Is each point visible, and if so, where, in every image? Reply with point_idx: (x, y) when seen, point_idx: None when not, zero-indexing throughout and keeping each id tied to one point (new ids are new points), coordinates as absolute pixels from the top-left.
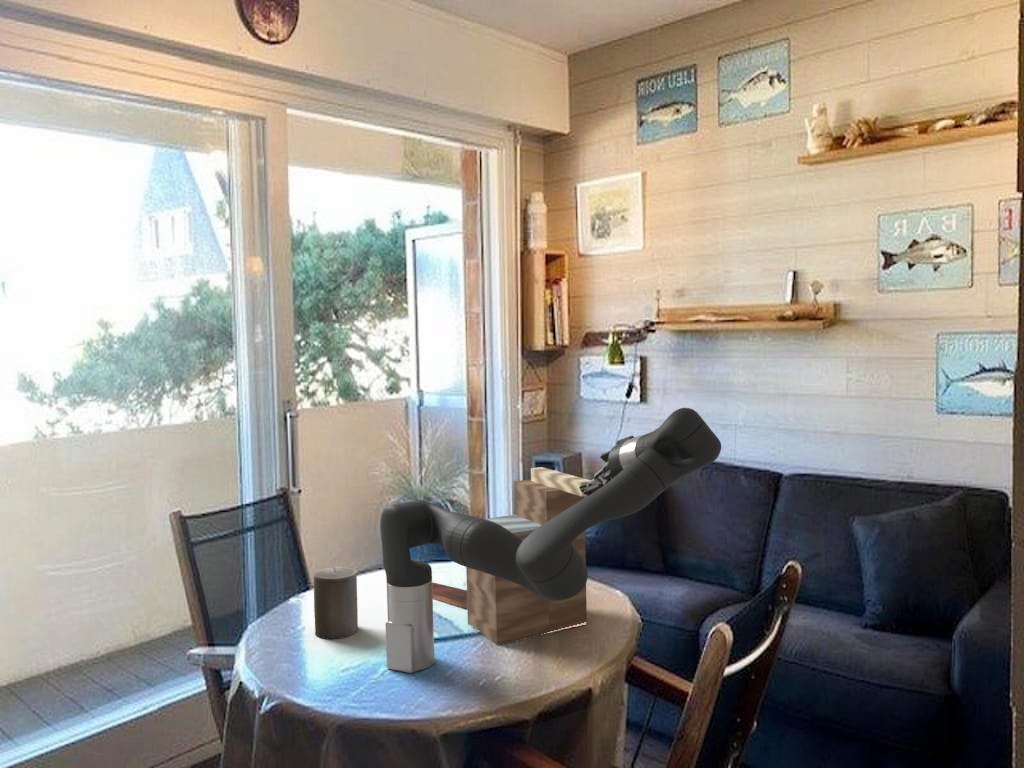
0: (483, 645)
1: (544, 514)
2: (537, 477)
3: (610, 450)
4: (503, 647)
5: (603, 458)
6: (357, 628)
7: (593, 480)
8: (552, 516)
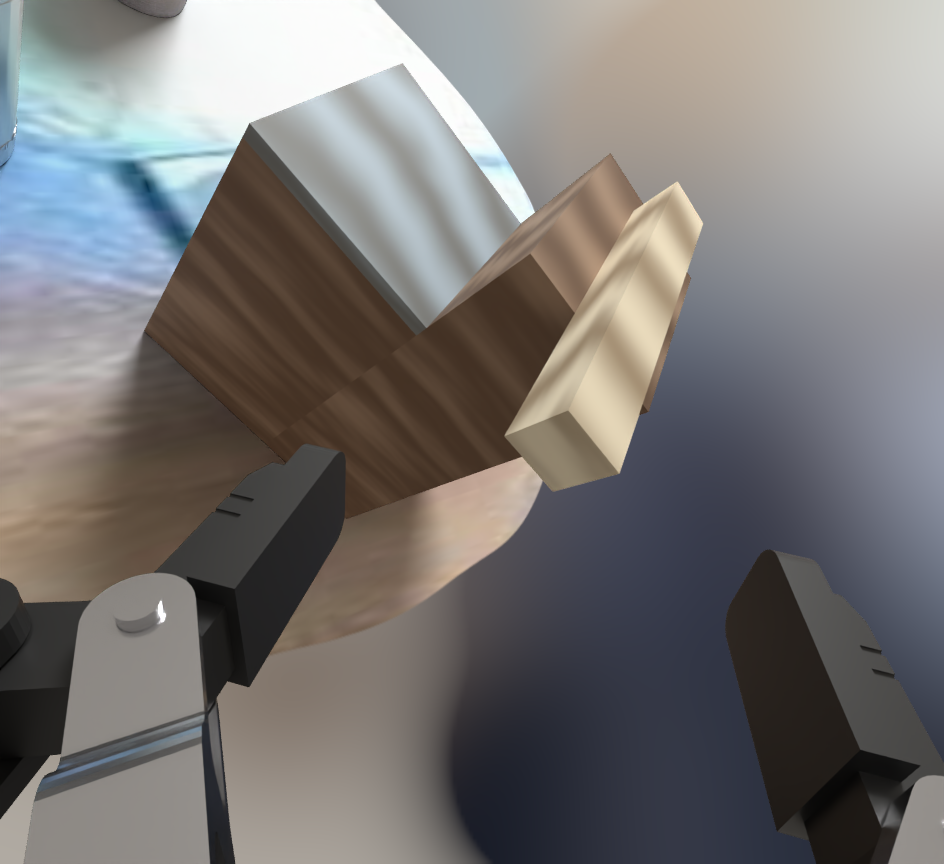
0: (134, 297)
1: (463, 298)
2: (641, 217)
3: (926, 787)
4: (134, 348)
5: (762, 592)
6: (149, 10)
7: (78, 740)
8: (469, 332)
